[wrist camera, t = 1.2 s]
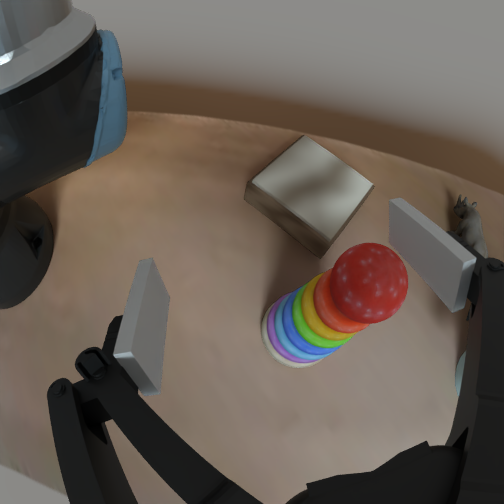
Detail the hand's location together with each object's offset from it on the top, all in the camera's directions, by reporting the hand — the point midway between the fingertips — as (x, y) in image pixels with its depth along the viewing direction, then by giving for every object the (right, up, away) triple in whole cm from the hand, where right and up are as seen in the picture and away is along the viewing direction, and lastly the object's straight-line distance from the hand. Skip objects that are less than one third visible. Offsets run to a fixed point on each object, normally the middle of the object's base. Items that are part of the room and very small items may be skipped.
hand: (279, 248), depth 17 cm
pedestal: (+6, +7, +24) cm, 26 cm away
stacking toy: (+3, -9, +17) cm, 20 cm away
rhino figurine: (+31, +2, +26) cm, 41 cm away
